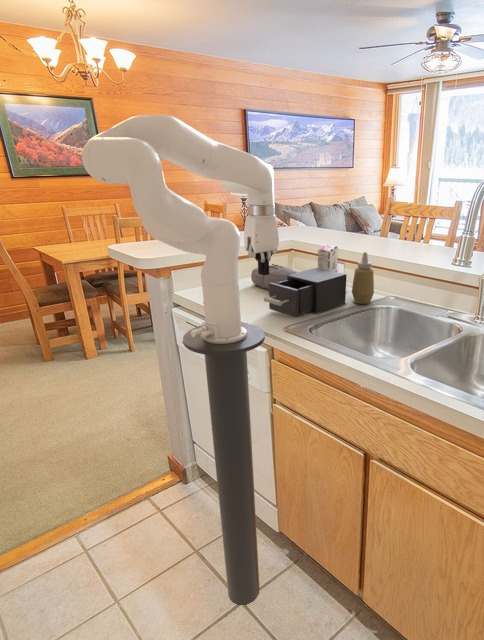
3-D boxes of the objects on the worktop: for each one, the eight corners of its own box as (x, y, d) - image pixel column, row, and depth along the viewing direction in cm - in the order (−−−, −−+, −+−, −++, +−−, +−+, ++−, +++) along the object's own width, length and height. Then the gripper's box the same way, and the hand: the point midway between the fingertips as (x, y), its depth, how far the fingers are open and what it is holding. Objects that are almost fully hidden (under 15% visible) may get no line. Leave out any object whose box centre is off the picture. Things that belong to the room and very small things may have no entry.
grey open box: (316, 314, 146) (317, 282, 142) (287, 305, 154) (286, 275, 150) (345, 303, 157) (346, 274, 153) (316, 296, 165) (316, 267, 161)
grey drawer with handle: (285, 321, 136) (285, 293, 133) (258, 312, 144) (257, 285, 140) (325, 307, 150) (326, 281, 146) (298, 299, 157) (298, 275, 154)
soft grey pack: (246, 285, 177) (282, 295, 165) (245, 264, 173) (281, 273, 162) (273, 278, 187) (308, 287, 176) (272, 259, 184) (308, 266, 172)
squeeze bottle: (376, 301, 161) (380, 251, 153) (367, 306, 155) (371, 255, 147) (357, 297, 165) (359, 249, 157) (347, 302, 158) (349, 252, 151)
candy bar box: (325, 285, 180) (326, 244, 173) (337, 286, 178) (338, 245, 171) (316, 292, 170) (317, 249, 163) (328, 293, 169) (330, 250, 162)
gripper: (271, 207, 132) (273, 268, 140) (232, 211, 121) (236, 276, 129) (289, 209, 127) (289, 272, 135) (250, 214, 117) (253, 281, 125)
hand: (263, 274), depth 132 cm, fingers closed
